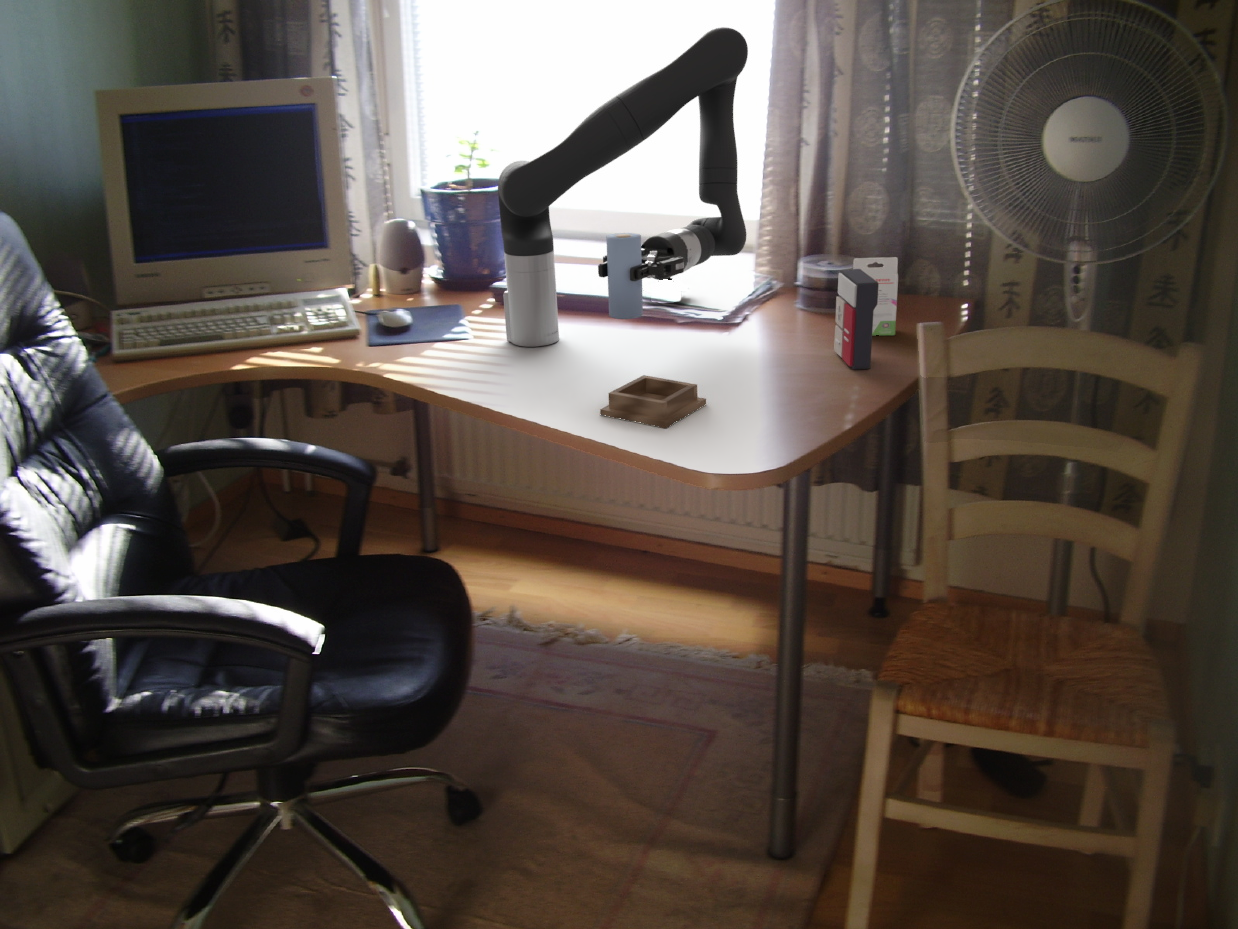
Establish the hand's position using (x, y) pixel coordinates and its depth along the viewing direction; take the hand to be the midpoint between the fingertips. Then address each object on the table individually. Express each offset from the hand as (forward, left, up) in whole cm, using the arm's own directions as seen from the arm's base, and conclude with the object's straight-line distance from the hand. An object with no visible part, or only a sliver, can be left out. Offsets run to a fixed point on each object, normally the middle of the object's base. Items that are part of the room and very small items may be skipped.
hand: (616, 272), depth 174 cm
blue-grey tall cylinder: (0, +3, -8) cm, 8 cm away
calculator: (+29, +30, -19) cm, 46 cm away
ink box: (+25, +48, -19) cm, 57 cm away
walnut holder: (+12, -8, -19) cm, 24 cm away
